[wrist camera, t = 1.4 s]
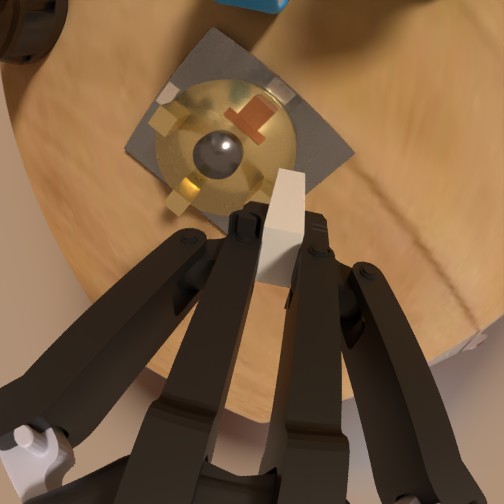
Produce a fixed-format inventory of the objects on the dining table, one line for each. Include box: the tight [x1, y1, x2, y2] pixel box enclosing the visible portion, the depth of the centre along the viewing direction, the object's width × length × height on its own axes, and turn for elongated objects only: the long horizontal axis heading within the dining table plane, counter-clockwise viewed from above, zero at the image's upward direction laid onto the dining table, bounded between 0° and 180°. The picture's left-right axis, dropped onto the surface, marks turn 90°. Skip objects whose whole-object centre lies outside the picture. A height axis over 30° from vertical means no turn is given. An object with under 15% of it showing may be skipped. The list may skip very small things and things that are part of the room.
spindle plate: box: [124, 27, 355, 235], centre depth 32 cm, size 22×20×1 cm
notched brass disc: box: [148, 79, 297, 217], centre depth 29 cm, size 16×16×6 cm
